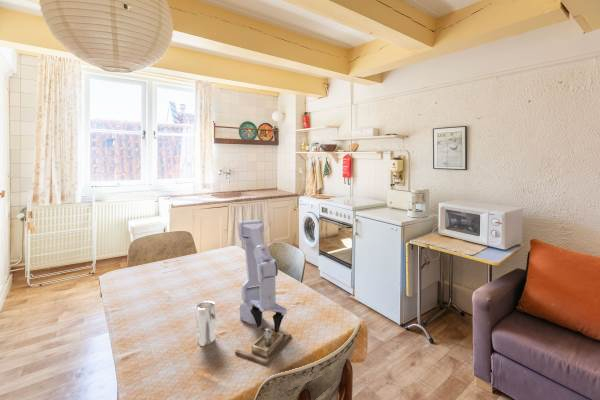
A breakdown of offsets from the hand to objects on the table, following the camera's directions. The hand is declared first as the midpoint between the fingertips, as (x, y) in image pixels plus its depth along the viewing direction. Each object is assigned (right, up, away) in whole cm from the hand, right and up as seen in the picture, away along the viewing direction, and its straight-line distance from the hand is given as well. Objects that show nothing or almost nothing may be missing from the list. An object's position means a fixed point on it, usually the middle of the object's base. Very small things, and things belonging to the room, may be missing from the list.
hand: (268, 328), depth 108 cm
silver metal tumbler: (-24, -7, +5) cm, 25 cm away
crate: (0, -7, +1) cm, 7 cm away
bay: (-1, -8, +2) cm, 8 cm away
